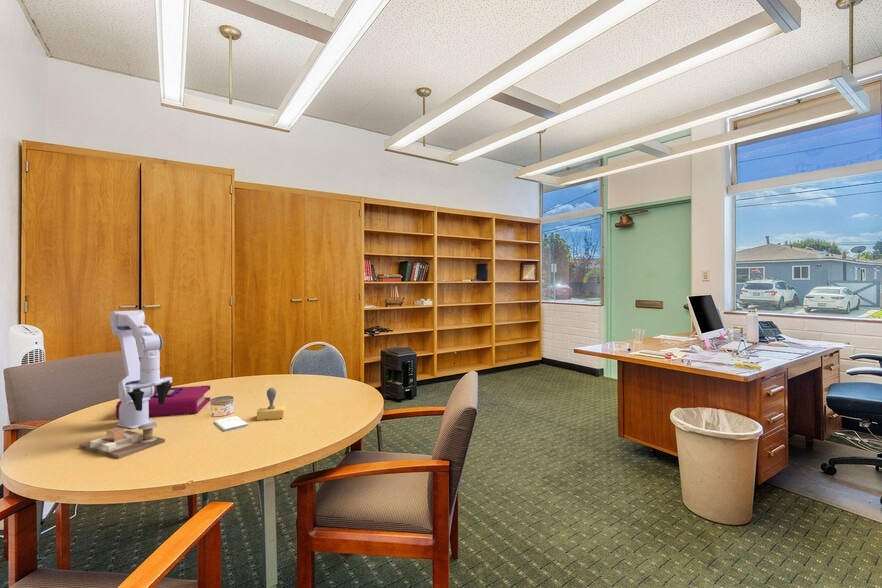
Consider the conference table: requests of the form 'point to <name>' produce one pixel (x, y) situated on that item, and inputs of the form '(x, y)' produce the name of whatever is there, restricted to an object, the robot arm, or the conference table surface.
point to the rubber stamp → (271, 408)
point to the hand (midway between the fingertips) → (150, 407)
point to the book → (177, 401)
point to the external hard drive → (230, 423)
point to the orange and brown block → (115, 434)
